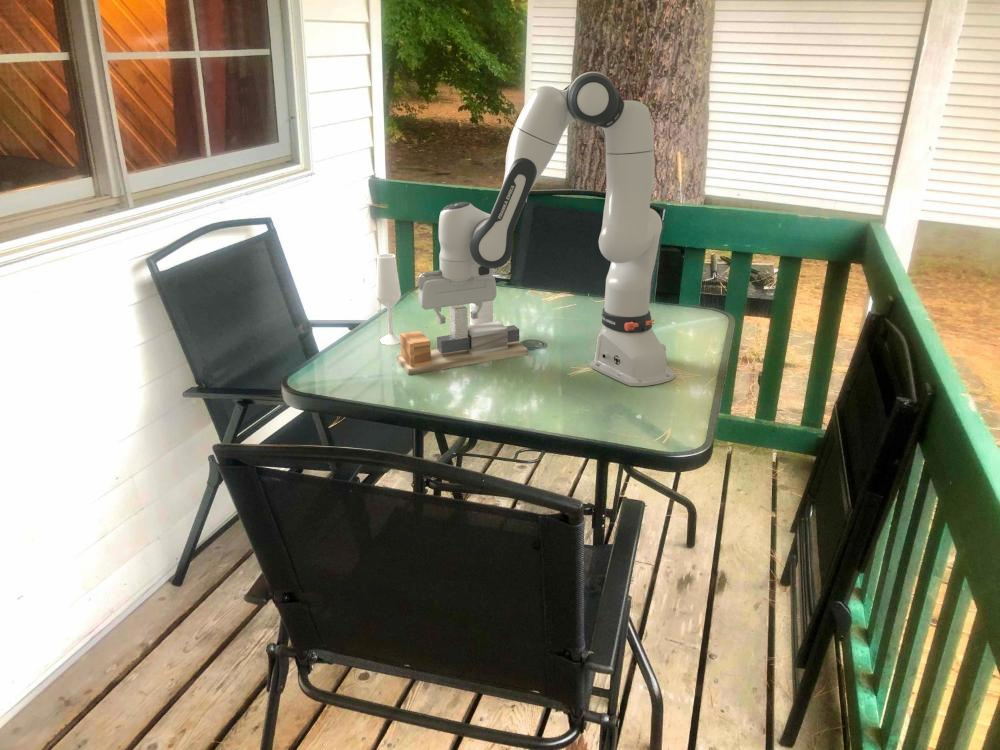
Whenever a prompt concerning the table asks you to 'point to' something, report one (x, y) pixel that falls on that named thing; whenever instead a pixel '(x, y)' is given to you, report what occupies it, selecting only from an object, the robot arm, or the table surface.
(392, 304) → the champagne flute
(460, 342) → the slider with upright handle
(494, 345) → the base
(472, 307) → the water bottle
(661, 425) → the table surface
